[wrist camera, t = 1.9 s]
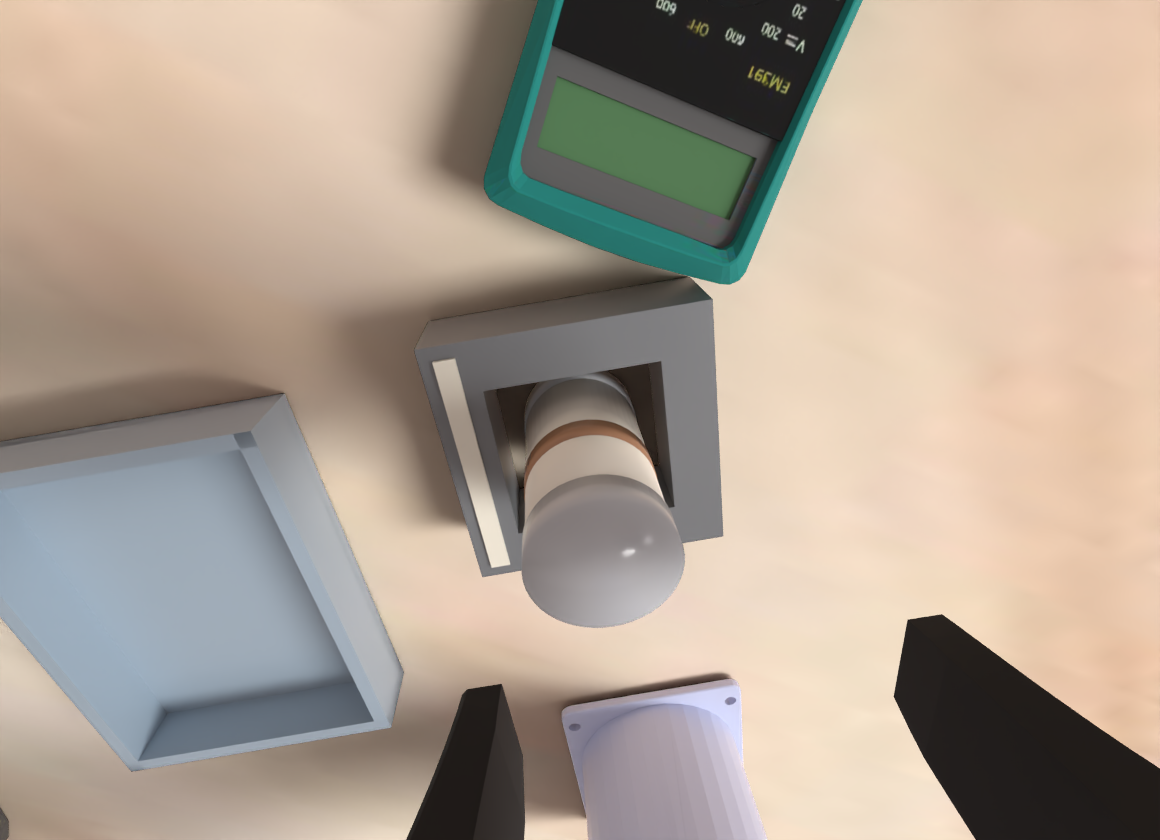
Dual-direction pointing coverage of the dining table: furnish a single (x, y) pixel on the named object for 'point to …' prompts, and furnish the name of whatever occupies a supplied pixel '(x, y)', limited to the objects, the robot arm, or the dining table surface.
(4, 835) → the thermos
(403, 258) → the dining table surface
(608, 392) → the cylinder
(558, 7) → the digital multimeter
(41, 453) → the parts tray
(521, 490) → the fuse block
